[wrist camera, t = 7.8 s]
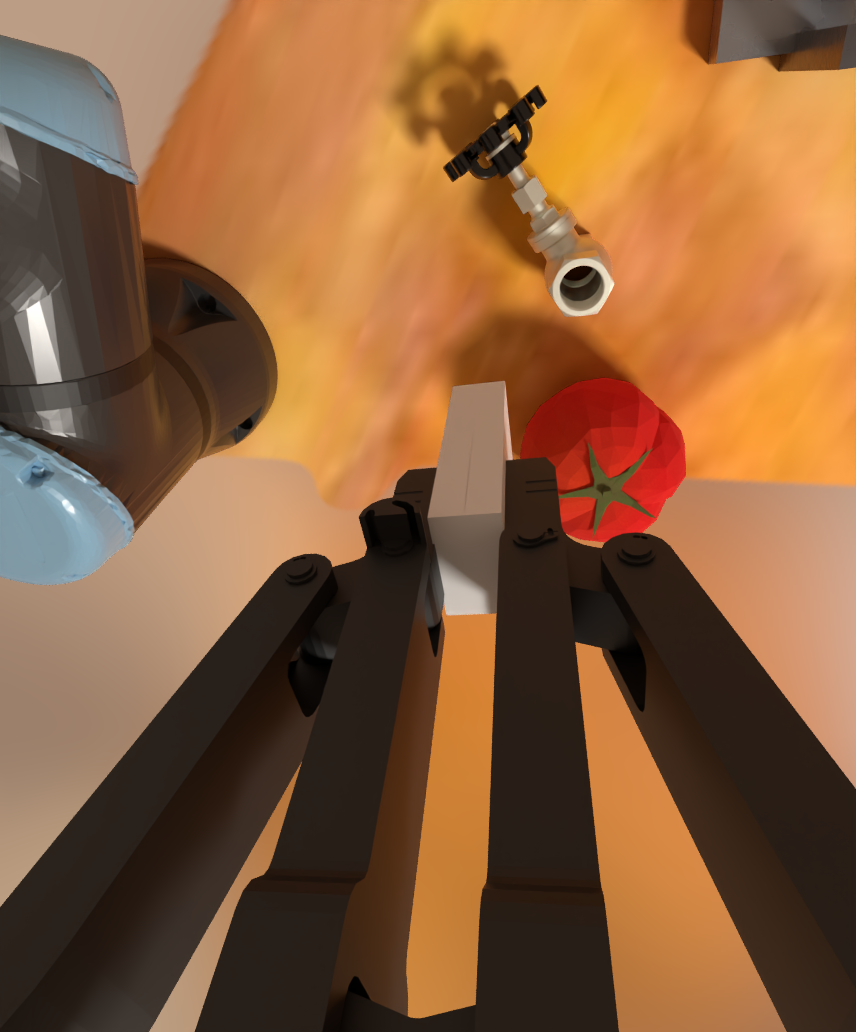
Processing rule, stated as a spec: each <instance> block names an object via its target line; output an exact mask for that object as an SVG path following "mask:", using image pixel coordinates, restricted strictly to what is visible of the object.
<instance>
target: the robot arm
mask: <svg viewBox="0 0 856 1032" xmlns="http://www.w3.org/2000/svg"><path fill="white" fill-rule="evenodd" d="M135 184H136V185H137V184H138V177H137V175H136V173H135V171H134V170H133V169H132V167H131V162H130V156H129V150H128V144H127V138H126V132H125V126H124V120H123V114H122V109H121V104H120V101H119V98H118V95H117V93H116V91H115V89H114V88H113V86H112V84H111V83H110V81H109V80H108V79H107V77H106V76H105V75H104V74H103V73H102V72H101V71H100V70H99V69H98V68H97V67H95V66H94V65H92V64H91V63H90V62H88V61H87V60H85V59H83V58H81V57H79V56H76V55H73V54H70V53H66V52H62V51H59V50H54V49H51V48H47V47H44V46H40V45H36V44H33V43H29V42H25V41H21V40H18V39H14V38H10V37H6V36H2V35H0V577H3V578H6V579H10V580H14V581H18V582H23V583H30V584H39V585H56V584H65V583H70V582H74V581H77V580H80V579H82V578H84V577H86V576H88V575H90V574H91V573H93V572H95V571H96V570H98V569H99V568H100V567H101V566H102V565H103V564H104V563H105V562H106V561H107V560H108V559H109V558H110V557H111V556H112V555H114V554H115V553H116V552H117V551H118V550H120V549H122V548H124V547H126V546H127V545H128V544H129V543H130V541H131V540H132V537H133V536H134V533H135V532H136V531H137V529H138V528H139V527H140V526H141V525H142V524H143V522H144V521H145V520H146V519H147V518H148V517H149V515H150V514H151V513H152V512H153V510H155V508H156V507H157V506H158V505H159V504H160V502H161V501H162V500H163V499H164V498H165V496H167V494H168V493H169V492H170V491H171V490H172V489H173V487H174V486H175V485H176V484H177V483H178V482H179V481H180V479H181V478H182V477H183V476H184V475H185V474H186V473H187V471H188V470H189V469H190V468H191V467H192V466H193V464H194V463H195V462H196V461H197V460H199V459H201V458H204V457H207V456H209V455H212V454H214V453H217V452H220V451H222V450H225V449H228V448H230V447H232V446H234V445H236V444H238V443H239V442H241V441H242V440H244V439H245V438H246V437H247V436H249V435H250V434H251V433H252V432H253V431H254V429H255V428H256V427H257V426H258V425H259V423H260V422H261V421H262V420H263V418H264V417H265V416H266V414H267V413H268V411H269V409H270V407H271V405H272V403H273V400H274V397H275V393H276V388H277V363H276V357H275V353H274V349H273V346H272V343H271V340H270V338H269V336H268V333H267V331H266V329H265V327H264V325H263V323H262V322H261V320H260V319H259V317H258V315H257V314H256V313H255V311H254V310H253V309H252V307H251V306H250V305H249V304H248V302H247V301H246V300H245V299H244V298H243V297H242V296H241V295H240V294H239V293H238V292H237V291H236V290H235V289H234V288H232V287H231V286H230V285H229V284H227V283H226V282H225V281H223V280H222V279H221V278H219V277H218V276H216V275H214V274H213V273H211V272H209V271H207V270H205V269H203V268H201V267H198V266H196V265H193V264H190V263H187V262H184V261H180V260H174V259H166V258H153V259H145V260H144V257H143V249H142V240H141V232H140V223H139V215H138V206H137V198H136V189H135ZM359 519H360V524H361V527H362V531H363V535H364V538H365V542H366V545H367V551H366V554H365V556H364V557H362V558H360V559H358V560H355V561H353V562H349V563H346V564H342V565H338V566H335V567H332V564H331V561H330V560H328V559H327V558H326V557H325V556H322V555H319V554H304V555H300V556H297V557H293V558H291V559H289V560H287V561H286V562H284V563H282V564H281V565H280V566H279V567H278V568H277V569H276V570H275V571H274V572H273V573H272V574H271V576H270V577H269V578H268V579H267V581H266V582H265V583H264V584H263V586H262V587H261V588H260V589H259V590H258V592H257V593H256V594H255V595H254V597H253V598H252V599H251V600H250V601H249V603H248V604H247V605H246V606H245V608H244V609H243V610H242V611H241V612H240V614H239V615H238V616H237V617H236V619H235V620H234V621H233V622H232V623H231V625H230V626H229V627H228V628H227V630H226V631H225V632H224V633H223V635H222V636H221V637H220V638H219V639H218V641H217V642H216V643H215V645H214V646H213V647H212V648H211V649H210V650H209V652H208V653H207V654H206V655H205V657H204V658H203V659H202V660H201V662H200V663H199V664H198V665H197V667H196V668H195V669H194V670H193V671H192V673H191V674H190V675H189V676H188V678H187V679H186V680H185V681H184V682H183V684H182V685H181V686H180V687H179V689H178V690H177V691H176V693H174V695H173V696H172V697H171V698H170V700H169V701H168V702H167V704H165V706H164V707H163V708H162V710H161V711H160V712H159V713H158V714H157V715H156V717H155V718H154V719H153V720H152V722H151V723H150V724H149V725H148V727H147V728H146V729H145V730H144V731H143V733H142V734H141V735H140V736H139V738H138V739H137V740H136V741H135V743H134V744H133V745H132V746H131V748H130V749H129V750H128V751H127V752H126V754H125V755H124V756H123V757H122V759H121V760H120V761H119V762H118V763H117V765H116V766H115V767H114V768H113V769H112V771H111V772H110V773H109V774H108V776H107V777H106V778H105V779H104V781H103V782H102V783H101V784H100V785H99V787H98V788H97V789H96V790H95V792H94V793H93V794H92V795H91V797H90V798H89V799H88V800H87V801H86V803H85V804H84V805H83V806H82V808H81V809H80V810H79V811H78V812H77V814H76V815H75V816H74V817H73V819H72V820H71V821H70V822H69V824H68V825H67V826H66V827H65V828H64V830H63V831H62V832H61V833H60V835H59V836H58V837H57V838H56V840H55V841H54V842H53V843H52V844H51V846H50V847H49V848H48V849H47V851H46V852H45V853H44V854H43V855H42V857H41V858H40V859H39V860H38V862H37V863H36V864H35V865H34V866H33V868H32V869H31V870H30V871H29V873H28V874H27V875H26V876H25V877H24V879H23V880H22V881H21V882H20V884H19V885H18V886H17V887H16V888H15V890H14V891H13V892H12V893H11V895H10V896H9V897H8V898H7V899H6V901H5V902H4V903H3V904H2V906H1V907H0V1032H149V1031H150V1029H151V1027H152V1026H153V1024H154V1022H155V1021H156V1019H157V1017H158V1015H159V1014H160V1012H161V1010H162V1008H163V1007H164V1005H165V1003H166V1001H167V1000H168V998H169V996H170V994H171V992H172V991H173V989H174V987H175V985H176V984H177V982H178V980H179V978H180V976H181V975H182V973H183V971H184V969H185V967H186V966H187V964H188V962H189V960H190V959H191V957H192V955H193V953H194V952H195V950H196V948H197V946H198V945H199V943H200V941H201V939H202V937H203V935H204V934H205V932H206V930H207V929H208V927H209V925H210V923H211V921H212V920H213V918H214V916H215V914H216V913H217V911H218V909H219V907H220V905H221V904H222V902H223V900H224V898H225V896H226V895H227V893H228V891H229V890H230V888H231V886H232V884H233V882H234V881H235V879H236V877H237V875H238V873H239V872H240V870H241V868H242V866H243V865H244V863H245V861H246V859H247V858H248V856H249V854H250V852H251V850H252V848H253V847H254V845H255V843H256V842H257V840H258V838H259V836H260V834H261V833H262V831H263V829H264V827H265V826H266V824H267V822H268V820H269V819H270V817H271V815H272V813H273V811H274V810H275V808H276V806H277V804H278V802H279V801H280V799H281V797H282V795H283V794H284V792H285V790H286V788H287V787H288V785H289V783H290V781H291V779H292V778H293V776H294V774H295V772H296V771H297V769H298V767H299V765H300V764H301V762H302V764H301V767H300V770H299V773H298V777H297V780H296V784H295V787H294V790H293V793H292V797H291V800H290V803H289V806H288V810H287V813H286V817H285V819H284V823H283V826H282V829H281V833H280V836H279V839H278V842H277V846H276V849H275V852H274V855H273V859H272V861H271V864H270V866H269V869H268V870H267V871H266V873H265V874H264V875H262V876H259V877H257V878H255V879H252V880H251V881H250V882H249V884H248V885H247V887H246V888H245V889H244V890H243V892H242V895H241V897H240V899H239V902H238V904H237V906H236V909H235V912H234V915H233V918H232V921H231V924H230V927H229V930H228V933H227V936H226V939H225V942H224V945H223V948H222V951H221V954H220V957H219V960H218V963H217V966H216V969H215V972H214V975H213V978H212V981H211V984H210V987H209V990H208V993H207V996H206V999H205V1003H204V1005H203V1009H202V1011H201V1015H200V1017H199V1021H198V1024H197V1027H196V1029H195V1032H619V1029H618V1020H617V1011H616V1001H615V991H614V983H613V973H612V965H611V956H610V955H611V954H610V945H609V936H608V927H607V918H606V910H605V903H604V895H603V891H602V888H601V882H600V873H599V864H598V855H597V845H596V835H595V826H594V817H593V807H592V798H591V788H590V779H589V769H588V759H587V750H586V740H585V731H584V721H583V712H582V703H581V693H580V683H579V674H578V665H577V655H576V645H575V642H578V643H582V644H587V645H591V646H595V647H600V648H602V652H603V656H604V658H605V660H606V662H607V664H608V666H609V668H610V670H611V672H612V675H613V676H614V678H615V681H616V683H617V685H618V687H619V689H620V691H621V693H622V695H623V697H624V699H625V701H626V703H627V705H628V707H629V709H630V711H631V713H632V715H633V717H634V720H635V722H636V724H637V726H638V728H639V730H640V732H641V734H642V736H643V738H644V740H645V742H646V744H647V746H648V748H649V750H650V752H651V754H652V757H653V759H654V761H655V763H656V765H657V767H658V768H659V771H660V773H661V775H662V777H663V779H664V781H665V783H666V785H667V787H668V789H669V791H670V793H671V795H672V797H673V800H674V802H675V804H676V806H677V808H678V810H679V812H680V814H681V816H682V818H683V820H684V822H685V824H686V826H687V828H688V830H689V832H690V834H691V836H692V838H693V840H694V842H695V845H696V847H697V849H698V851H699V853H700V855H701V857H702V858H703V861H704V863H705V865H706V867H707V869H708V871H709V873H710V875H711V877H712V879H713V881H714V883H715V886H716V887H717V890H718V892H719V894H720V896H721V898H722V900H723V902H724V904H725V906H726V908H727V910H728V912H729V914H730V916H731V918H732V920H733V922H734V924H735V926H736V929H737V930H738V933H739V935H740V937H741V939H742V941H743V943H744V945H745V947H746V949H747V951H748V953H749V955H750V957H751V959H752V961H753V963H754V965H755V967H756V970H757V972H758V974H759V976H760V978H761V980H762V982H763V984H764V986H765V988H766V990H767V992H768V994H769V996H770V998H771V1000H772V1002H773V1004H774V1006H775V1008H776V1010H777V1013H778V1015H779V1017H780V1019H781V1021H782V1023H783V1025H784V1027H785V1029H786V1031H787V1032H856V789H855V787H854V786H853V785H852V783H851V782H850V781H849V779H848V778H847V777H846V776H845V774H844V773H843V772H842V770H841V769H840V768H839V766H838V765H837V764H836V762H835V761H834V760H833V759H832V757H831V756H830V755H829V753H828V752H827V751H826V749H825V748H824V747H823V745H822V744H821V743H820V742H819V740H818V739H817V738H816V736H815V735H814V734H813V732H812V731H811V730H810V728H809V727H808V726H807V724H806V723H805V722H804V721H803V719H802V718H801V717H800V716H799V714H798V713H797V712H796V710H795V709H794V708H793V706H792V705H791V704H790V702H789V701H788V700H787V698H786V697H785V696H784V694H783V693H782V692H781V690H780V689H779V688H778V687H777V685H776V684H775V683H774V681H773V680H772V679H771V677H770V676H769V675H768V674H767V672H766V671H765V669H764V668H763V667H762V666H761V664H760V663H759V662H758V660H757V659H756V658H755V656H754V655H753V654H752V653H751V651H750V650H749V649H748V647H747V646H746V645H745V643H744V642H743V641H742V639H741V638H740V637H739V636H738V634H737V633H736V632H735V630H734V629H733V628H732V626H731V625H730V624H729V622H728V621H727V620H726V618H725V617H724V616H723V615H722V613H721V612H720V611H719V609H718V608H717V607H716V606H715V604H714V603H713V602H712V600H711V599H710V598H709V596H708V595H707V594H706V592H705V591H704V590H703V589H702V587H701V586H700V585H699V583H698V582H697V581H696V579H695V578H694V577H693V575H692V574H691V573H690V571H689V570H688V569H687V568H686V566H685V565H684V564H683V562H682V561H681V560H680V559H679V557H678V556H677V554H675V552H674V550H673V549H672V548H671V547H670V546H669V545H668V544H667V543H666V542H665V541H664V540H662V539H660V538H658V537H656V536H653V535H650V534H645V533H638V532H635V533H623V534H620V535H617V536H615V537H612V538H610V539H609V540H608V541H607V542H605V543H604V545H603V547H602V548H597V547H591V546H587V545H583V544H580V543H578V542H575V541H574V540H572V539H570V538H569V537H568V536H567V535H566V534H565V532H564V531H563V528H562V524H561V514H560V505H559V496H558V486H557V477H556V468H555V466H554V465H553V464H552V463H551V462H550V461H549V460H548V459H547V458H546V457H540V458H528V459H516V460H513V458H512V447H511V437H510V427H509V417H508V407H507V396H506V386H505V381H497V382H488V383H479V384H470V385H460V386H453V388H452V394H451V399H450V404H449V409H448V414H447V419H446V424H445V430H444V435H443V440H442V445H441V450H440V455H439V460H438V466H437V468H426V469H414V470H408V471H407V472H406V473H405V474H404V475H403V476H402V477H401V478H400V479H399V480H398V481H397V485H396V489H395V492H394V496H393V498H387V499H382V500H380V501H377V502H375V503H372V504H371V505H369V506H368V507H367V508H365V509H364V510H363V511H362V513H361V514H360V516H359ZM443 602H444V604H445V609H446V614H447V615H466V614H490V613H491V614H492V613H497V617H496V645H495V675H494V703H493V732H492V761H491V789H490V817H489V845H488V872H487V880H486V884H485V886H484V888H483V890H482V896H481V905H480V919H479V942H478V965H477V989H476V1005H473V1006H470V1007H465V1008H462V1009H457V1010H453V1011H449V1012H445V1013H441V1014H437V1015H433V1016H429V1017H425V1018H410V1017H408V991H407V976H406V958H407V948H408V940H409V931H410V922H411V914H412V906H413V897H414V889H415V880H416V872H417V864H418V856H419V855H418V854H419V847H420V839H421V830H422V822H423V814H424V805H425V797H426V787H427V780H428V771H429V763H430V754H431V746H432V737H433V729H434V721H435V712H436V704H437V696H438V687H439V679H440V670H441V661H442V653H443V645H444V637H445V630H444V623H443V618H442V610H443Z"/></svg>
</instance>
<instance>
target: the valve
mask: <svg viewBox="0 0 856 1032" xmlns="http://www.w3.org/2000/svg"><path fill="white" fill-rule="evenodd" d="M533 102H534V103H535V105H536V107H537V109H540V108H541V107H542V106H543V105H544V104H545V103H546V102H547V99H546V98H545V96H544V94H543V92H542V91H541V89H540V87H539V85H536V86H535V87H534V88H533V89H532V90H530V91H529V92H528V93H527V94H526V95H524V96H523V97H522V98H521V99H520V100H519V101H517V102H516V103H515V104H514V105H513V106H512V107H511V108H510V109H509V110H508V113H507V114H505V115H504V116H503V117H502V118H501V119H497V120H496V121H494V122H493V123H492V124H491V125H490V126H489V127H488V128H486V129H485V130H484V132H483V133H482V134H481V135H480V136H479V137H478V138H477V140H476V141H474V142H473V143H469V144H468V145H467V146H466V147H465V148H464V149H463V150H461V151H460V152H459V153H458V154H457V155H456V156H455V157H454V158H453V159H452V160H450V161H449V162H448V163H447V164H446V165H445V166H444V167H443V169H444V171H445V172H446V174H447V175H448V177H449V178H450V180H451V181H452V182H454V181H455V180H456V179H458V178H459V177H461V176H463V175H464V174H465V173H466V172H468V171H470V173H471V174H472V175H473V176H474V177H476V178H477V179H481V180H487V179H490V178H492V177H493V176H495V175H497V177H498V179H502V178H504V177H505V176H506V175H507V176H508V178H509V179H510V181H511V182H512V184H513V186H514V187H515V190H514V191H513V192H512V197H513V198H514V200H515V202H516V203H517V205H518V206H519V208H520V210H521V211H522V213H523V214H525V213H527V212H528V213H529V214H530V216H531V218H532V220H531V221H530V225H531V227H532V229H533V231H532V232H531V233H530V234H529V236H528V237H527V241H528V242H529V244H530V245H531V247H532V248H533V250H534V252H535V253H539V252H542V254H543V255H544V257H545V258H546V261H547V263H546V267H545V277H544V278H545V285H546V288H547V290H548V292H549V294H550V296H551V297H552V298H553V299H554V301H555V302H556V304H557V306H558V307H559V309H560V310H561V312H562V313H563V314H564V316H565V317H572V316H585V315H592V314H597V313H598V312H599V310H600V309H601V307H602V306H603V304H604V302H605V301H606V299H607V297H608V295H609V294H610V292H611V290H612V288H613V286H614V284H615V283H614V281H613V278H612V273H613V267H612V261H611V257H610V255H609V253H608V252H607V250H606V249H605V247H604V246H603V245H602V244H600V243H599V242H597V241H595V240H594V239H593V237H592V236H591V234H581V235H578V234H577V232H576V230H575V229H574V226H575V225H576V223H577V220H576V219H575V217H574V215H573V214H572V212H571V210H570V209H569V208H568V207H565V208H563V209H561V210H559V211H557V209H556V208H555V206H554V204H552V205H548V204H547V202H546V201H545V198H546V197H547V193H546V191H545V189H544V188H543V186H542V184H541V183H540V181H539V179H538V178H537V176H536V175H533V176H531V177H529V176H528V174H527V172H526V171H525V169H524V167H523V166H522V164H521V163H522V162H523V161H524V160H525V159H526V158H527V154H526V153H525V150H526V149H527V148H528V147H529V145H530V143H531V141H532V127H531V124H530V122H529V119H530V118H531V117H532V116H533V115H534V114H535V112H534V111H535V109H534V107H533V106H532V103H533ZM514 124H516V126H517V128H518V129H519V131H520V133H521V141H520V142H519V141H518V140H517V138H516V136H515V135H514V133H513V134H512V135H510V133H509V131H508V129H509V128H511V127H512V126H513V125H514ZM483 151H485V153H486V154H487V156H486V157H485V158H486V160H487V161H488V163H489V164H490V167H489V168H488V169H484V168H482V167H481V166H480V165H479V163H478V162H477V159H479V156H478V155H479V154H480V153H482V152H483ZM578 266H590V267H592V268H593V269H592V271H591V272H590V273H589V274H588V275H587V276H586V277H585V278H583V279H581V280H578V281H570V280H567V279H565V278H563V277H564V275H565V274H566V273H567V272H568V271H570V270H571V269H573V268H575V267H578Z"/></svg>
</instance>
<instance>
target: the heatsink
mask: <svg viewBox="0 0 856 1032" xmlns="http://www.w3.org/2000/svg"><path fill="white" fill-rule="evenodd" d="M780 54H781V58H780V64H779V70H778V71H811V70H840V69H848V68H855V67H856V0H715V1H714V11H713V20H712V29H711V39H710V48H709V57H708V64H717V63H724V62H731V61H738V60H745V59H752V58H759V57H766V56H773V55H780Z"/></svg>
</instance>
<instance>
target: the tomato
mask: <svg viewBox="0 0 856 1032" xmlns="http://www.w3.org/2000/svg"><path fill="white" fill-rule="evenodd" d="M540 457H546V458H547V459H548V460H549V461H550V462H551V463H552V464H553V465H554V466H555V468H556V477H557V486H558V496H559V505H560V514H561V524H562V528H563V531H564V532H565V533H566V534H568V535H571V536H573V537H575V538H578V539H582V540H589V541H598V542H607V541H608V540H609V539H610V538H612V537H615V536H617V535H620V534H623V533H635V532H638V533H642V532H643V531H644V530H645V529H647V528H648V527H649V526H650V525H651V524H652V523H654V522H655V521H656V520H657V517H658V516H659V513H660V511H661V509H662V507H663V505H664V503H665V501H666V499H667V498H669V497H671V496H672V495H673V494H674V492H675V491H676V489H677V488H678V486H679V485H680V483H681V482H682V481H683V479H684V478H685V476H686V462H685V443H684V440H683V436H682V433H681V430H680V429H679V428H678V427H677V425H676V424H675V423H674V422H673V421H672V419H671V418H670V417H669V416H668V415H667V414H666V413H665V412H664V411H663V410H661V409H660V408H658V407H657V406H656V405H655V404H654V402H653V401H652V400H650V399H649V398H648V397H647V396H646V395H645V394H644V393H642V392H641V391H640V390H639V389H638V388H637V387H635V386H634V385H633V384H631V383H630V382H625V381H620V380H615V379H610V378H598V379H592V380H586V381H580V382H576V383H574V384H573V385H571V386H569V387H567V388H565V389H563V390H561V391H560V392H558V393H557V394H556V395H554V396H553V397H552V398H550V399H549V400H548V401H546V402H545V403H544V404H542V405H541V406H540V407H539V408H538V410H537V411H536V413H535V414H534V416H533V417H532V419H531V420H530V421H529V423H528V424H527V427H526V431H525V434H524V438H523V442H522V446H521V455H520V459H528V458H540Z"/></svg>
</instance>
